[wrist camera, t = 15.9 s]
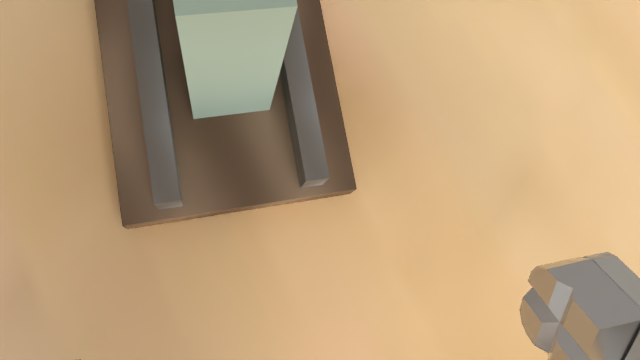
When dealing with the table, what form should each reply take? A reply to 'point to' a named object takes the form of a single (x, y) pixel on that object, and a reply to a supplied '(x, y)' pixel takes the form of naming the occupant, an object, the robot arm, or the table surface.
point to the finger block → (233, 52)
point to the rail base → (216, 123)
